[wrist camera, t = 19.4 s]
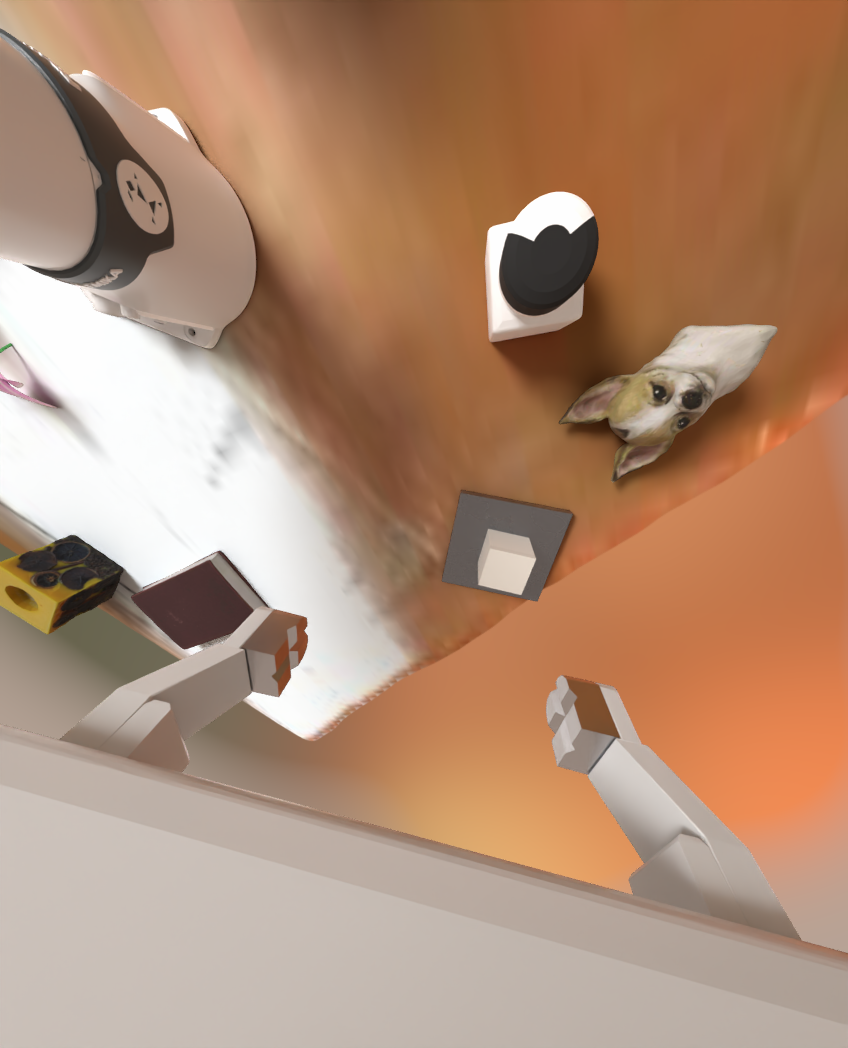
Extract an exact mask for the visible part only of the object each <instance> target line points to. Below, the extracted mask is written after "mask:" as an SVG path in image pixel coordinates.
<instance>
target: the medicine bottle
mask: <svg viewBox="0 0 848 1048" xmlns="http://www.w3.org/2000/svg"><path fill="white" fill-rule="evenodd" d="M598 240H599V238H598V227H597V222H596V219H595V217H594V214H593V212H592V210H591V209H590V207H589V206H588V205H587V203H585V202H584V201H583V200H582V199H581V198H579V197H578V196H576V195H574V194H571V193H567V192H553V193H549V194H546V195H543V196H541V197H539V198H537V199H536V200H534V201H533V202H531V203H530V204H529V205H527V206H526V207H525V208H524V209H523V210H522V211H521V213H520V214H519V215H518V217H517V218H516V219H515V221H512V222H508V223H504V224H501V225H497V226H493V227H491V228H490V229H489V231H488V237H487V247H486V257H485V271H486V290H487V309H488V329H489V340H490V342H497V341H502V340H508V339H513V338H519V337H524V336H530V335H535V334H541V333H546V332H552V331H557V330H560V329H562V328H563V327H565V326H567V325H569V324H571V323H572V322H574V321H576V320H578V319H580V317H581V316H582V310H583V292H584V282H585V281H586V279H587V278H588V276H589V274H590V272H591V270H592V268H593V265H594V262H595V259H596V256H597V250H598Z"/></svg>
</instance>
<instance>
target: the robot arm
mask: <svg viewBox="0 0 848 1048" xmlns="http://www.w3.org/2000/svg"><path fill="white" fill-rule="evenodd" d="M0 258H1V259H5V260H9V261H13V262H18V263H22V264H23V265H25V266H27V267H29V268H30V269H32V270H34V271H36V272H39V273H41V274H43V275H46V276H49V277H51V278H55V279H56V280H59V281H62V282H65V283H69V284H73V285H76V286H78V287H80V289H81V290H82V292H83V293H84V294H85V296H86V297H87V298H88V300H89V301H90V302H91V303H92V304H93V308H94V310H96V311H98V312H101V313H104V314H108V315H112V316H116V317H127V318H129V319H132V320H135V321H137V322H140V323H142V324H145V325H147V326H150V327H152V328H155V329H157V330H160V331H162V332H165V333H167V334H170V335H172V336H175V337H178V338H180V339H183V340H185V341H188V342H190V343H193V344H195V345H198V346H201V347H204V348H209V349H210V348H213V347H214V346H215V345H216V343H217V342H218V340H219V337H220V335H221V333H222V330H223V329H224V327H225V326H226V325H227V324H229V323H230V322H231V321H233V320H234V319H235V318H237V317H238V316H239V315H240V314H241V312H242V311H243V310H244V308H245V307H246V305H247V303H248V301H249V299H250V297H251V294H252V291H253V287H254V283H255V276H256V253H255V245H254V240H253V235H252V231H251V227H250V224H249V221H248V218H247V216H246V213H245V211H244V209H243V206H242V204H241V202H240V200H239V199H238V197H237V195H236V193H235V192H234V190H233V189H232V187H231V186H230V184H229V183H228V182H227V180H226V179H225V178H224V177H223V176H222V174H221V173H220V172H219V171H218V170H217V169H216V168H215V167H214V166H213V165H212V164H211V163H210V162H209V161H208V160H207V159H206V158H205V157H204V155H203V154H202V153H201V152H200V150H199V148H198V146H197V144H196V142H195V140H194V138H193V136H192V134H191V132H190V131H189V129H188V127H187V126H186V124H185V123H184V121H183V120H182V119H181V118H180V117H179V116H178V115H176V114H175V113H174V112H172V111H171V110H169V109H167V108H158V109H154V110H149V111H147V110H146V109H144V108H143V107H141V106H140V105H139V104H137V103H136V102H134V101H133V100H132V99H130V98H129V97H127V96H126V95H124V94H123V93H122V92H120V91H119V90H117V89H116V88H115V87H113V86H112V85H110V84H109V83H108V82H106V81H105V80H103V79H102V78H100V77H99V76H97V75H96V74H94V73H92V72H90V71H87V70H83V73H82V74H71V75H68V74H66V73H65V72H64V71H63V70H62V69H61V68H60V67H59V66H57V65H56V64H55V63H53V62H52V61H51V60H49V59H48V58H47V57H45V56H44V55H42V54H41V53H40V52H38V51H37V50H35V49H34V48H32V47H31V46H28V45H27V44H25V43H24V42H21V41H19V40H18V39H16V38H15V37H13V36H12V35H10V34H9V33H7V32H6V31H4V30H2V29H0ZM194 330H195V335H194V332H193V331H194ZM306 627H307V618H306V617H303V616H299V615H295V614H291V613H288V612H284V611H280V610H275V609H271V608H267V607H263V606H261V607H259V608H257V609H256V610H255V611H254V612H253V613H252V614H251V615H250V616H249V617H248V618H247V619H246V620H245V621H244V622H243V623H242V624H241V625H240V626H239V628H238V629H237V630H236V631H235V632H234V633H233V634H232V635H231V636H230V637H229V638H228V639H227V640H226V641H225V642H224V643H223V644H219V643H218V644H215V645H213V646H211V647H209V648H206V649H204V650H202V651H200V652H197V653H195V654H193V655H191V656H189V657H186V658H184V659H182V660H180V661H177V662H175V663H173V664H171V665H169V666H166V667H164V668H162V669H160V670H157V671H155V672H153V673H151V674H149V675H147V676H144V677H142V678H140V679H137V680H135V681H133V682H131V683H128V684H126V685H124V686H122V687H120V688H118V689H117V690H116V691H114V692H113V693H112V694H111V695H110V696H109V697H107V698H106V699H105V700H104V701H103V702H102V703H101V704H99V705H98V706H97V707H96V708H95V709H94V710H92V711H91V712H90V713H89V714H88V715H87V716H86V717H84V718H83V719H82V720H81V721H80V722H79V723H78V724H76V725H75V726H74V727H73V728H72V729H71V730H70V731H68V732H67V733H66V734H65V735H64V736H63V737H62V738H60V739H55V738H51V737H48V736H44V735H40V734H36V733H33V732H29V731H26V730H21V729H18V728H14V727H10V726H7V725H3V724H0V1048H848V953H845V952H842V951H838V950H834V949H831V948H827V947H823V946H820V945H816V944H812V943H808V942H805V941H802V940H801V938H800V937H799V935H798V933H797V931H796V930H795V928H794V927H793V925H792V923H791V921H790V920H789V918H788V916H787V914H786V912H785V911H784V909H783V907H782V906H781V904H780V902H779V900H778V899H777V897H776V895H775V894H774V892H773V890H772V888H771V887H770V885H769V883H768V882H767V880H766V878H765V876H764V875H763V873H762V871H761V870H760V868H759V866H758V864H757V863H756V861H755V859H754V857H753V856H752V854H751V852H750V851H749V849H748V848H747V847H746V846H745V845H744V844H743V843H742V842H741V841H740V840H739V839H738V838H737V837H736V836H735V835H734V834H733V833H732V832H731V831H730V830H729V829H728V828H727V827H726V826H725V825H724V824H723V823H722V821H720V820H719V819H718V817H717V816H716V815H714V814H713V812H712V811H711V810H710V809H709V808H708V807H707V806H706V805H705V804H704V803H703V802H702V801H701V800H700V799H699V798H698V797H697V796H696V795H695V794H694V793H693V792H692V791H691V790H690V789H689V788H688V787H687V786H686V785H685V784H684V783H683V782H682V781H681V779H679V777H678V776H677V775H676V774H675V773H674V772H673V771H672V770H671V769H670V768H669V767H668V766H667V765H666V764H665V763H664V762H663V761H662V760H661V759H660V758H659V757H658V756H657V755H656V754H655V753H654V752H653V751H652V750H651V749H650V748H649V747H648V746H647V745H643V744H642V743H641V741H640V739H639V737H638V735H637V732H636V730H635V728H634V726H633V724H632V722H631V720H630V717H629V715H628V713H627V711H626V709H625V707H624V705H623V702H622V700H621V698H620V696H619V694H618V692H617V690H616V689H615V688H614V687H613V686H609V685H605V684H600V683H594V682H592V681H587V680H583V679H578V678H573V677H569V676H564V675H561V676H560V677H558V679H557V681H556V686H557V689H556V690H554V691H552V692H550V694H549V697H548V699H547V705H546V714H547V721H548V725H549V727H550V728H551V729H552V731H553V732H554V733H555V736H554V738H553V739H552V745H553V749H554V753H555V758H556V763H557V766H559V767H563V768H566V769H569V770H573V771H576V772H580V773H584V774H588V778H589V779H590V781H591V782H592V784H593V786H594V787H595V789H596V790H597V792H598V793H599V795H600V796H601V798H602V799H603V801H604V803H605V804H606V806H607V807H608V808H609V810H610V812H611V813H612V815H613V816H614V818H615V819H616V821H617V822H618V824H619V825H620V827H621V828H622V830H623V832H624V833H625V835H626V836H627V838H628V839H629V841H630V842H631V844H632V845H633V847H634V848H635V850H636V852H637V853H638V855H639V856H640V858H641V859H642V861H643V862H644V864H643V865H642V866H641V867H640V868H638V869H637V870H636V871H635V872H633V873H632V875H631V876H630V878H629V882H630V886H631V889H632V893H633V895H632V894H628V893H624V892H620V891H617V890H613V889H609V888H605V887H602V886H598V885H595V884H591V883H587V882H583V881H580V880H576V879H572V878H569V877H565V876H561V875H557V874H554V873H550V872H546V871H543V870H539V869H536V868H532V867H528V866H525V865H520V864H517V863H513V862H510V861H506V860H502V859H499V858H495V857H491V856H488V855H484V854H480V853H477V852H473V851H469V850H465V849H462V848H458V847H454V846H450V845H447V844H443V843H440V842H436V841H432V840H428V839H425V838H421V837H417V836H414V835H410V834H406V833H403V832H399V831H395V830H392V829H388V828H384V827H381V826H377V825H373V824H369V823H366V822H362V821H358V820H355V819H351V818H347V817H344V816H340V815H336V814H333V813H329V812H325V811H322V810H318V809H314V808H310V807H306V806H303V805H299V804H296V803H292V802H288V801H285V800H281V799H277V798H273V797H270V796H266V795H262V794H258V793H255V792H251V791H247V790H244V789H240V788H236V787H233V786H229V785H225V784H222V783H218V782H214V781H211V780H206V779H203V778H199V777H196V776H192V775H188V774H185V773H182V772H183V771H184V769H185V768H186V766H187V765H188V764H189V761H190V760H189V754H188V751H187V748H186V746H185V743H184V741H185V740H186V739H188V738H189V737H190V736H192V735H193V734H195V733H196V732H197V731H199V730H200V729H202V728H203V727H204V726H206V725H207V724H209V723H210V722H212V721H213V720H214V719H216V718H217V717H219V716H220V715H221V714H223V713H224V712H225V711H227V710H229V709H230V708H231V707H233V706H234V705H235V704H237V703H238V702H240V701H241V700H243V699H244V698H246V697H247V696H248V695H250V694H251V693H252V692H257V693H261V694H266V695H271V696H275V697H279V696H280V695H281V693H282V691H283V690H284V688H285V686H286V685H287V683H288V682H289V680H290V678H291V671H290V670H291V669H293V668H295V667H296V666H298V665H299V664H300V662H301V660H302V658H303V656H304V654H305V651H306V648H307V643H308V635H307V634H306V633H305V631H304V630H305V629H306ZM251 691H252V692H251Z"/></svg>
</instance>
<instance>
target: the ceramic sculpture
mask: <svg viewBox="0 0 848 1048" xmlns="http://www.w3.org/2000/svg"><path fill="white" fill-rule="evenodd" d="M776 333H777V328H776V327H774V326H771V325H751V324H744V325H734V326H688V327H685V328H683V329H682V330H680V331H679V332H678V333H677V334H676V336H675V337H674V339H673V340H672V342H671V344H670V346H669V347H668V348H667V349H666V350H665V351H664V352H663V353H662V354H661V355H660V356H657V357H655V358H654V360H653V361H651V362H650V363H648V364H645V365H644V366H643V368H642V369H641V370H639V371H638V372H637V373H635V374H632V375H617V376H613V377H609V378H606V379H604V380H603V381H601V382H600V383H598V384H596V385H594V386H593V387H591V388H589V389H588V390H587V391H586V392H584V393H583V394H582V395H581V396H580V397H579V398H578V399H577V400H576V401H575V402H574V403H573V404H572V405H571V407H569V409H568V410H567V412H566V414H565V415H564V416H563V417H562V419H561V420H560V421H559V424H567V423H578V424H591V423H595V422H598V421H601V420H603V419H604V418H609V424H610V427H611V429H612V431H613V432H614V434H616V435H617V436H619V437H620V438H622V439H623V440H624V441H626V442H627V443H625V444H624V445H622V446H621V447H620V448H619V449H618V450H617V452H616V453H615V459H614V468H613V473H612V478H611V481H612V482H615V481H617V480H618V479H620V478H621V477H622V476H623V475H625V474H627V473H629V472H631V471H634V470H636V469H639V468H641V467H643V465H648V464H650V463H652V462H654V461H655V460H656V459H657V458H658V457H659V456H660V455H662V454H664V453H665V452H667V451H668V449H669V448H670V446H671V445H672V443H673V440H674V438H675V435H676V434H677V433H679V432H681V431H682V430H684V429H685V428H687V427H689V426H690V425H692V424H694V423H695V422H696V421H698V419H699V418H700V417H701V416H702V415H703V414H704V413H705V412H706V410H707V409H708V408H709V407H710V405H711V404H712V403H713V402H714V401H715V400H716V399H718V398H720V397H721V396H723V395H725V394H728V393H730V392H732V391H734V390H735V389H737V388H738V386H739V385H740V384H741V383H742V382H744V381H745V380H746V379H747V378H748V377H749V376H750V374H751V373H752V372H753V370H754V369H755V367H756V366H757V365H758V363H759V361H760V360H761V358H762V356H763V354H764V352H765V350H766V348H767V346H768V344H769V342H770V341H771V339H772V338H773V336H774V335H775V334H776Z"/></svg>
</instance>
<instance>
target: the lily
mask: <svg viewBox="0 0 848 1048" xmlns="http://www.w3.org/2000/svg"><path fill="white" fill-rule="evenodd" d="M11 346H12V344H11V343H9V344H8V345H6V346H4V347H2V348H1V349H0V353H1V352H2V351H4V350H5V349H7V348H9V347H11ZM8 382H9V383H10V384H12V385H13V386H15V387H17V388H21V387H22V386H23V385H24V384H22V383H19V382H15V381H11V380H7V379H6V378H5V377H4V376H3V375H2V374H1V373H0V391H2V392H5V393H7V394H10V395H14V396H17V397H21V398H23V399H25V400H28V401H31V402H34V403H37V404H41V405H45V406H49V407H53V408H57V407H54V406H51V405H49V404H46V403H43V402H41V401H38V400H36V399H33V398H31V397H29V396H27V395H25V394H23V393H21V392H19V391H18V390H16V389H14V388H13V387H11V386H10V384H9V383H8Z"/></svg>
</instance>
